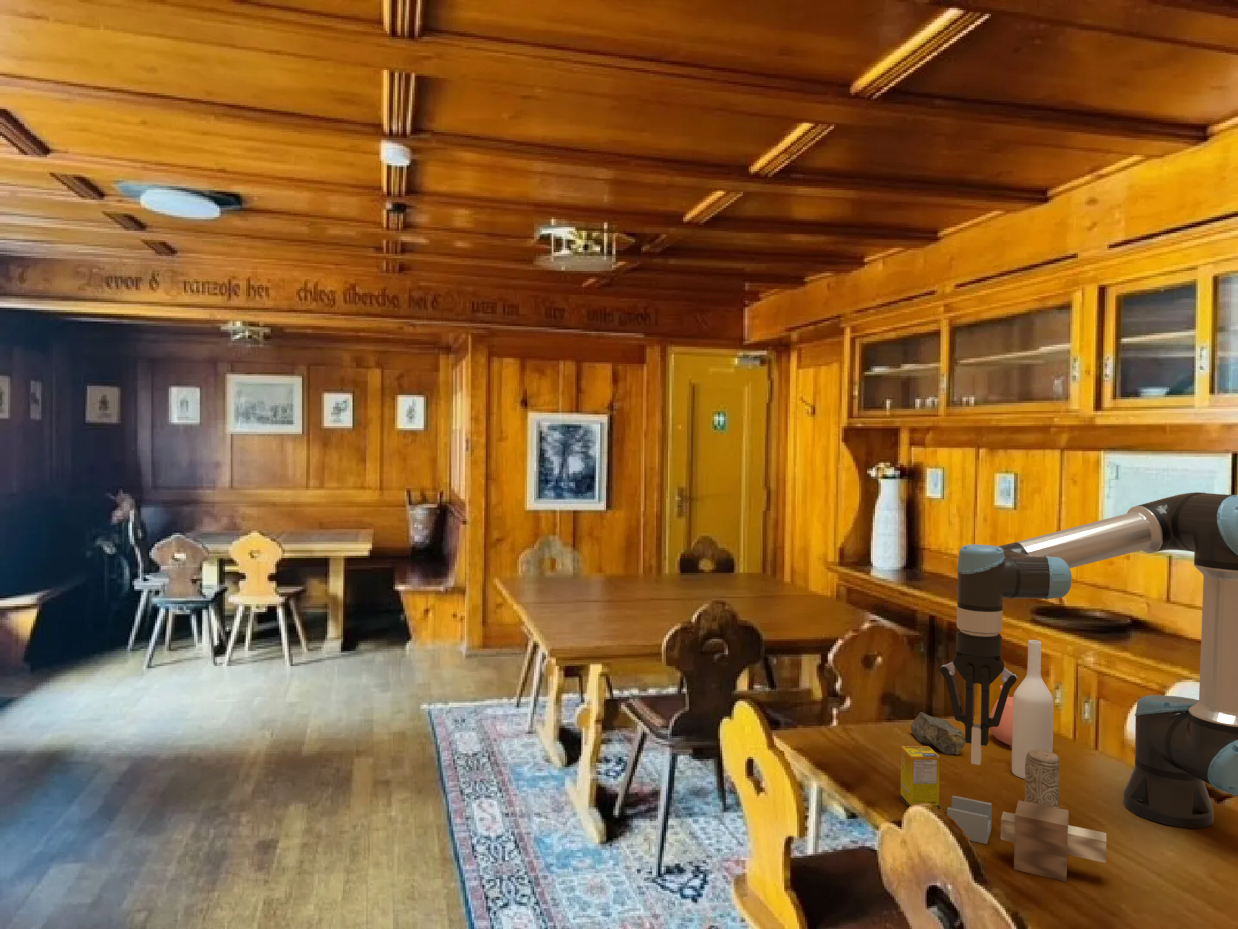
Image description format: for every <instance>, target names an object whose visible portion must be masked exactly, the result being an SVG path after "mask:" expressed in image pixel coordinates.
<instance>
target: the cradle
mask: <svg viewBox="0 0 1238 929" xmlns="http://www.w3.org/2000/svg"><path fill="white" fill-rule="evenodd" d="M992 805H993V803H992V802H986V801H982V800H976V799H971V798H967V797H961V796H956V795H952V796H951V807H949V806H948V807H947V809H946V811H947V812H946V816H947V815H948V816H950V817H951V818H952V819H953V820H954V821H955V822H957V825H958V826H959V827H960V828H961V829H962V830H963V832H964V834H966V835H967V836H968V837H969V840H968V841H970V840H971V842H975V843H978V844H979V843H980V844H984V845H988V844H989V840H990V835H991V831H992V810H993V808H992Z"/></svg>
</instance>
